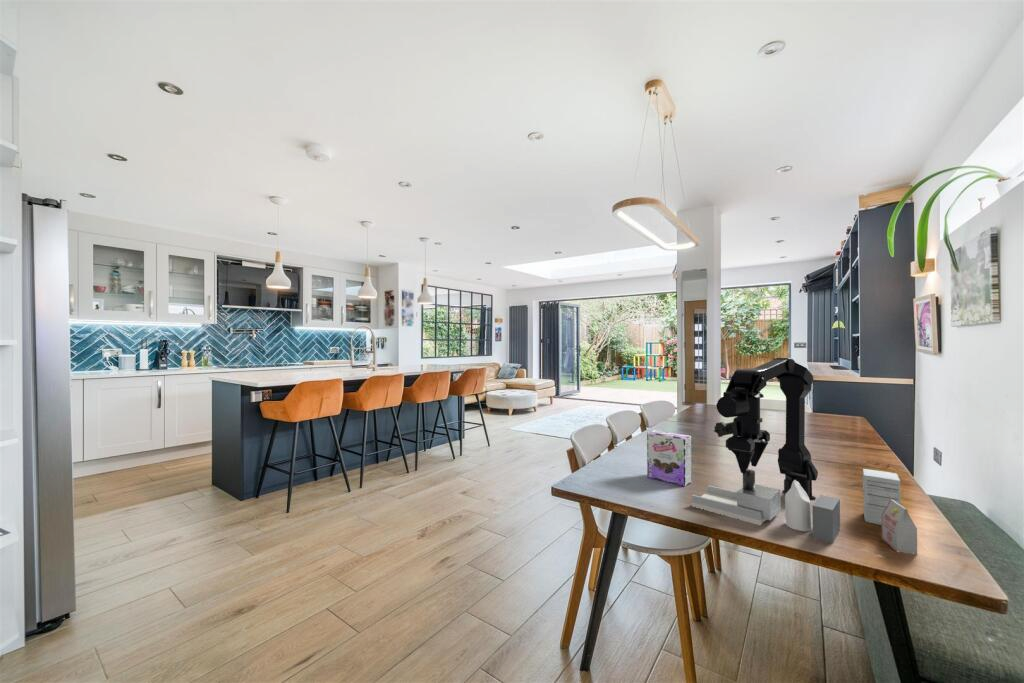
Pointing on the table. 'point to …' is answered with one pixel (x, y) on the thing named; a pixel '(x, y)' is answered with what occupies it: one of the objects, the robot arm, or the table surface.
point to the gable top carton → (899, 528)
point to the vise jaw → (758, 497)
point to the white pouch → (797, 508)
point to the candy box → (669, 457)
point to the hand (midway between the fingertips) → (748, 469)
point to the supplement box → (879, 493)
